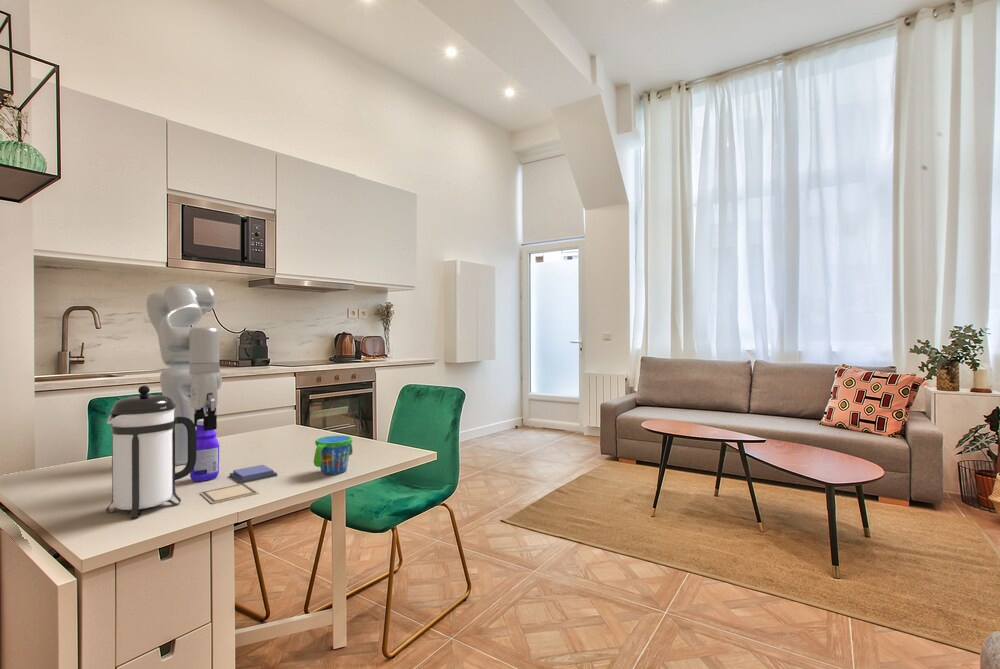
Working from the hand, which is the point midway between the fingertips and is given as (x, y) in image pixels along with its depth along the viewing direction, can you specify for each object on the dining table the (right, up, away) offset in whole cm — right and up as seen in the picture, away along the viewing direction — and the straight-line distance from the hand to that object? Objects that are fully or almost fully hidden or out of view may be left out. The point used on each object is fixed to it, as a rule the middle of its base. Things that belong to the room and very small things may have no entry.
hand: (205, 428), depth 140 cm
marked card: (+14, -15, -12) cm, 24 cm away
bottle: (0, -15, +1) cm, 15 cm away
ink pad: (+12, -15, +4) cm, 20 cm away
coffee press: (-1, -15, -21) cm, 26 cm away
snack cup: (+35, -15, +8) cm, 39 cm away
